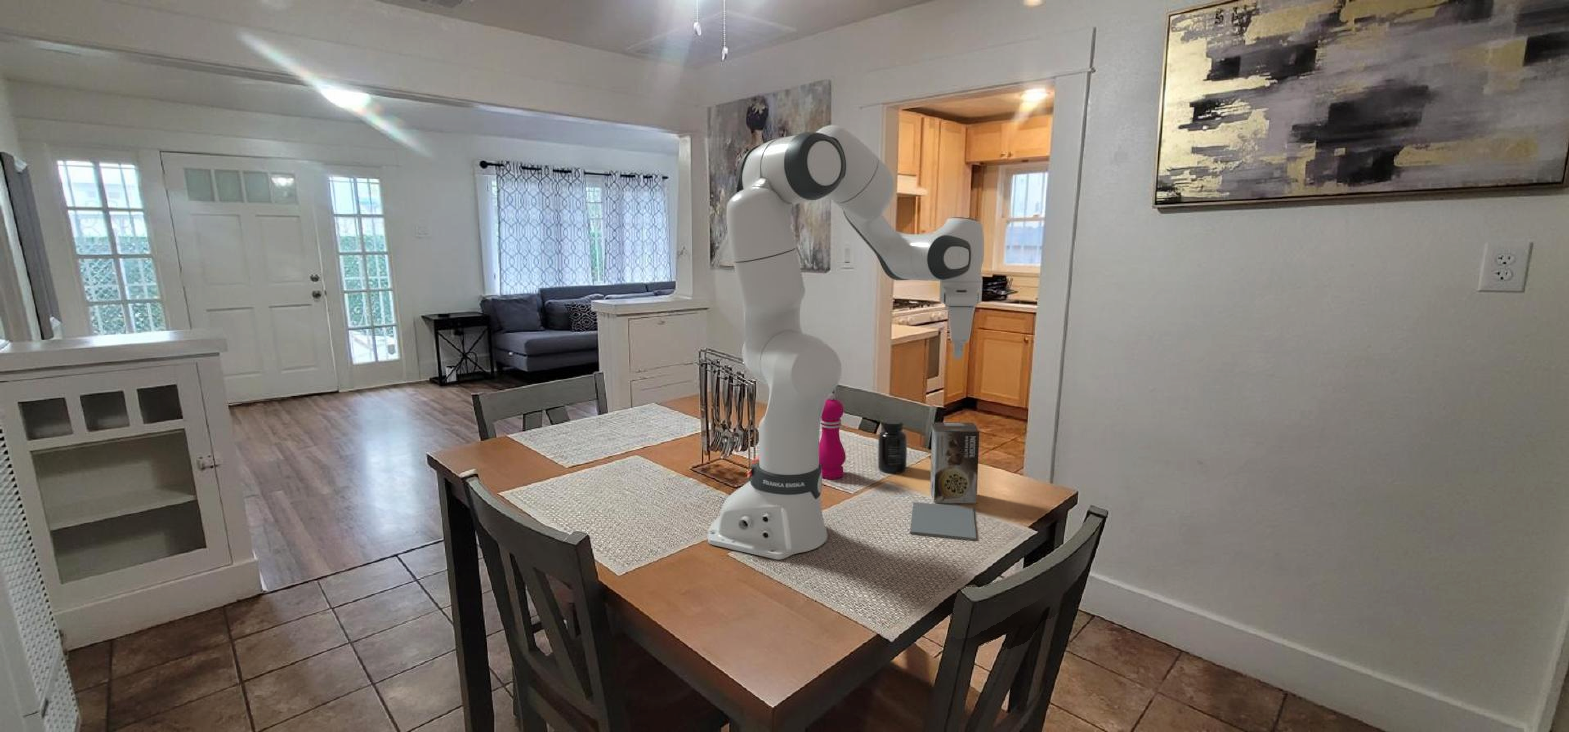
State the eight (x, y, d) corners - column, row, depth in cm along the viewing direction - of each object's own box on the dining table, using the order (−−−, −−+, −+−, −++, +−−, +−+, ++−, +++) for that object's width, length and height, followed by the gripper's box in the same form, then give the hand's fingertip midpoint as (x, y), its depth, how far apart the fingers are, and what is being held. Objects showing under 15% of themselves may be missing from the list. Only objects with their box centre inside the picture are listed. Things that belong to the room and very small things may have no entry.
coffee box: (971, 492, 137) (974, 422, 134) (977, 504, 131) (981, 430, 128) (928, 491, 138) (931, 421, 135) (932, 503, 132) (935, 429, 129)
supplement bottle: (910, 467, 153) (912, 420, 151) (899, 476, 147) (901, 427, 145) (884, 462, 157) (885, 416, 154) (873, 470, 151) (874, 422, 149)
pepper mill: (810, 471, 151) (810, 390, 147) (838, 467, 153) (839, 388, 149) (821, 481, 144) (821, 397, 140) (850, 478, 146) (851, 395, 142)
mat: (909, 533, 118) (910, 531, 118) (913, 504, 132) (913, 501, 131) (976, 540, 115) (976, 538, 115) (972, 509, 129) (972, 507, 129)
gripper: (945, 290, 146) (942, 348, 149) (945, 298, 127) (942, 365, 129) (973, 291, 145) (970, 349, 147) (978, 298, 125) (974, 366, 128)
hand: (957, 357), depth 138 cm, fingers open, 2 cm apart
